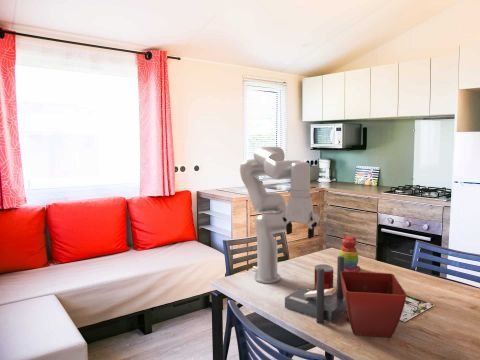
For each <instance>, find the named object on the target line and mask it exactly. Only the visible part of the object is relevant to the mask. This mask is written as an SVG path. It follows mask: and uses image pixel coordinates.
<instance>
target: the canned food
mask: <svg viewBox="0 0 480 360" xmlns="http://www.w3.org/2000/svg"><path fill="white" fill-rule="evenodd" d="M318 268H323V269H324V290H325V289H330V288H334V267H333V266H332V265H330V264H322V263H321V264H320V263H319V264H316V265H315V266H314V285H313V287H314V291H316V290H317V269H318Z"/></svg>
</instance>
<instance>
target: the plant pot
mask: <svg viewBox="0 0 480 360" xmlns="http://www.w3.org/2000/svg"><path fill="white" fill-rule="evenodd" d="M340 275H341V284H342V290H343V296H344V301H345V305H346V312H347V315H348V320H349V324H350V325H349V326H350V328H351V331H352V334H353V335H355V336H366V337H367V336H368V337H377V338H378V337H379V338H380V337H382V338H392V337H393V335H394V334H395V332H396V329H397V327H398V325H399V323H400V320H401V318H402V315H403V311H404V307H405V304H406V300H407V295H408V294H407V293H406V292H405V290H404V288H403V287H402V285H401V284H400V282H399V281H398V279H397V278H396V276H395V275H394V274H393V273H388V272H387V273H386V272H369V271H367V272H365V271H359V272H351V271H341V272H340Z"/></svg>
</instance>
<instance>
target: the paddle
mask: <svg viewBox="0 0 480 360" xmlns="http://www.w3.org/2000/svg"><path fill="white" fill-rule="evenodd" d="M335 293H337V288H336V287H333V288H330V289H325V290H324V296H326V295H330V296H333V295H334V294H335ZM304 296H305V297H316V296H317V290H316V291H315V290H312V291H309V292H307V293H306V294H304Z"/></svg>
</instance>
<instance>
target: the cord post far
mask: <svg viewBox="0 0 480 360" xmlns="http://www.w3.org/2000/svg"><path fill="white" fill-rule="evenodd" d="M336 266H337V268H336V269H337V270H336V271H337V272H336V297H337V298H341V299H344V296H343V290H342V284H341V275H340V272H341V271H344V257H342V256H339V255H338V256H337V263H336Z"/></svg>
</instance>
